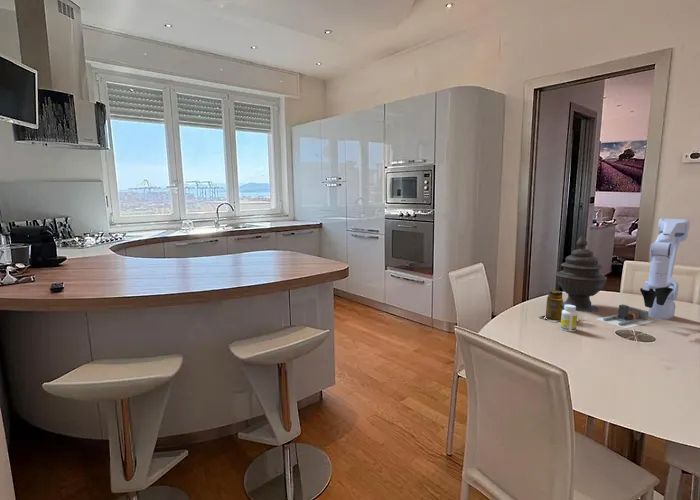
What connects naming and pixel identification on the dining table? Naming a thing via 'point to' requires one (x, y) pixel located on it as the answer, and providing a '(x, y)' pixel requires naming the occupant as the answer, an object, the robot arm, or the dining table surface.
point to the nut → (634, 313)
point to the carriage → (624, 314)
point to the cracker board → (631, 323)
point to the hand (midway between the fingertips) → (654, 306)
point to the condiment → (554, 306)
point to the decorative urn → (581, 278)
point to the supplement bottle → (569, 318)
